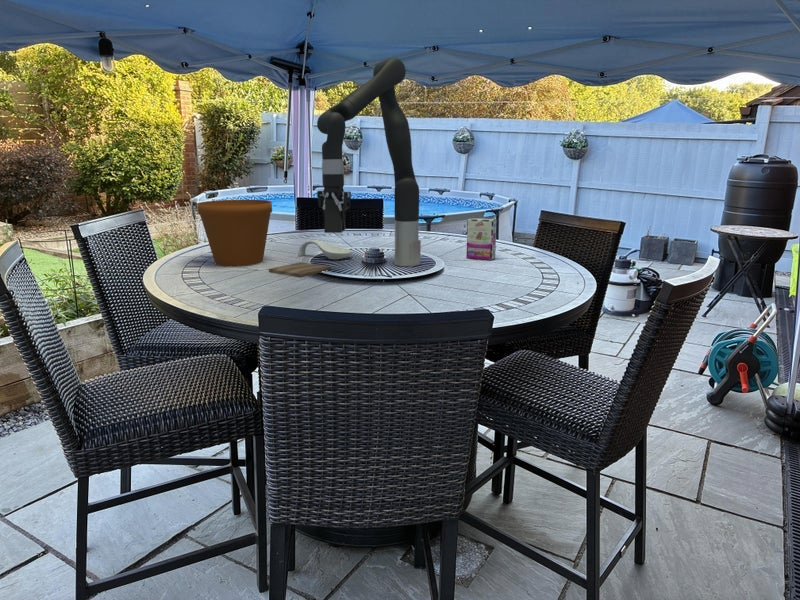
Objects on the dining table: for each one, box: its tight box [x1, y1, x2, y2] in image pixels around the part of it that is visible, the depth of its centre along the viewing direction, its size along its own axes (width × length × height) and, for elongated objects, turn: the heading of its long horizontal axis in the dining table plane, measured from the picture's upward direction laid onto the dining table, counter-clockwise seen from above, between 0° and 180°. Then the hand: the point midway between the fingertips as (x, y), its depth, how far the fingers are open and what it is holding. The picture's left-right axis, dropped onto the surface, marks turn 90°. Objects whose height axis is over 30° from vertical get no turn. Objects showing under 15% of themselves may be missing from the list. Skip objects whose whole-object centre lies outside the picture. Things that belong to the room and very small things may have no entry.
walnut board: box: [268, 261, 332, 278], centre depth 213 cm, size 16×16×1 cm
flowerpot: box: [196, 199, 273, 267], centre depth 227 cm, size 28×28×24 cm
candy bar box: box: [466, 218, 497, 262], centre depth 235 cm, size 11×5×16 cm, turn 62°
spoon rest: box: [297, 239, 353, 259], centre depth 239 cm, size 24×12×7 cm, turn 68°
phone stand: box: [323, 197, 346, 234], centre depth 204 cm, size 9×6×12 cm, turn 176°
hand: (334, 220), depth 205 cm, fingers closed on phone stand, 6 cm apart
